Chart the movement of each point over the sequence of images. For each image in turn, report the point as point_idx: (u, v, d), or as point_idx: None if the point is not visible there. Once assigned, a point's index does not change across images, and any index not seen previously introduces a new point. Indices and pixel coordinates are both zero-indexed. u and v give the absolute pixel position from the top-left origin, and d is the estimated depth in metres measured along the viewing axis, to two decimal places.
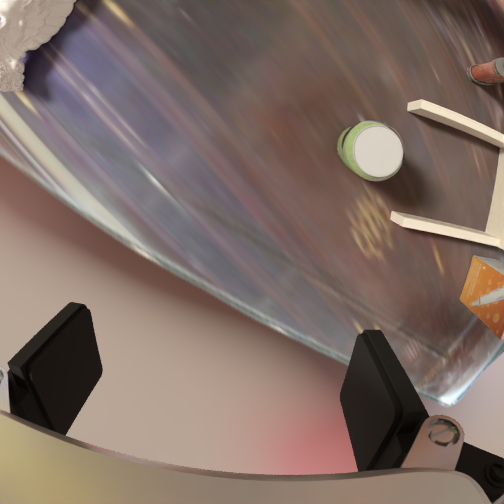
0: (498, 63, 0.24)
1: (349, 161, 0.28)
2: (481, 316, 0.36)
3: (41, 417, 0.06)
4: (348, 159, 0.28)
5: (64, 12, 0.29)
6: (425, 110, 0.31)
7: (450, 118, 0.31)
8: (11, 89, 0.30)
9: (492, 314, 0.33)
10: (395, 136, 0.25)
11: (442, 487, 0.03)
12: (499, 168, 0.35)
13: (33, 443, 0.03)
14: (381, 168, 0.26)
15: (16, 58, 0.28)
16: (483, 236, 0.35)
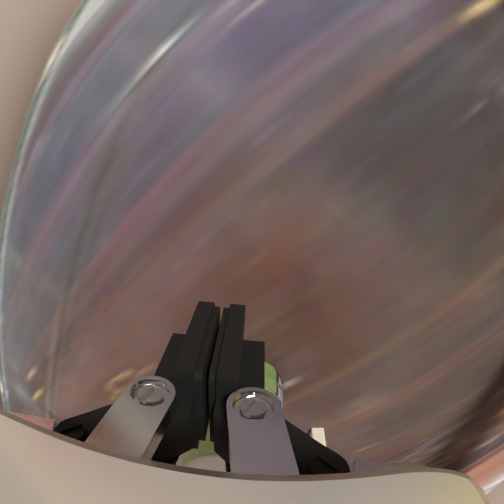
0: None
1: None
2: None
3: (195, 422, 0.07)
4: None
5: None
6: None
7: None
8: None
9: None
10: None
11: (442, 487, 0.03)
12: None
13: (33, 443, 0.03)
14: None
15: None
16: None
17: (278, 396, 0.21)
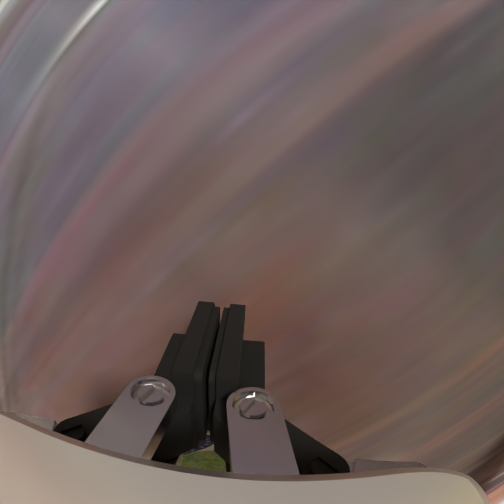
0: None
1: None
2: None
3: (195, 422, 0.07)
4: None
5: None
6: None
7: None
8: None
9: None
10: None
11: (442, 487, 0.03)
12: None
13: (33, 443, 0.03)
14: None
15: None
16: None
17: None
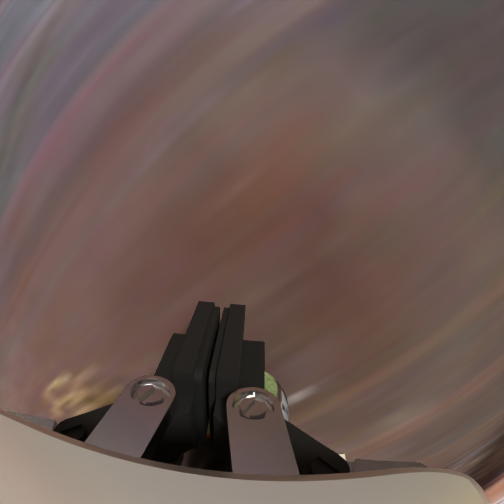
0: None
1: None
2: None
3: (195, 422, 0.07)
4: None
5: None
6: None
7: None
8: None
9: None
10: None
11: (442, 487, 0.03)
12: None
13: (33, 443, 0.03)
14: None
15: None
16: None
17: None
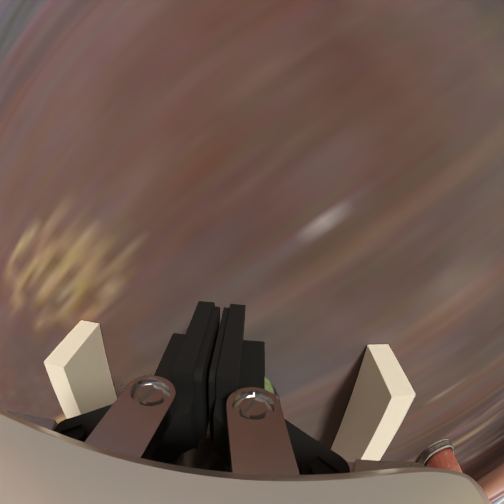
0: None
1: None
2: None
3: (195, 422, 0.07)
4: None
5: None
6: (383, 405, 0.12)
7: (362, 458, 0.12)
8: None
9: None
10: None
11: (442, 487, 0.03)
12: None
13: (33, 443, 0.03)
14: None
15: None
16: None
17: None
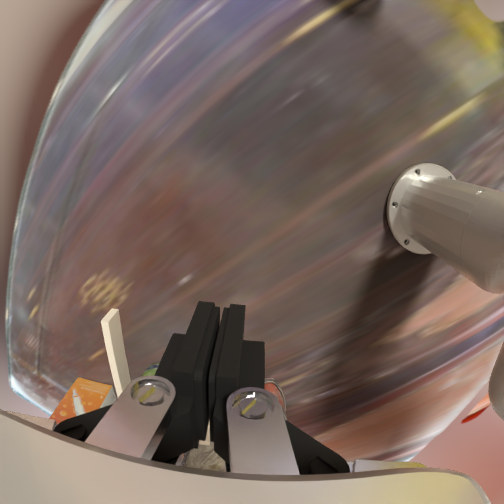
0: None
1: None
2: (64, 399, 0.43)
3: (195, 422, 0.07)
4: None
5: None
6: None
7: None
8: None
9: (65, 410, 0.41)
10: None
11: (442, 487, 0.03)
12: None
13: (33, 443, 0.03)
14: None
15: None
16: None
17: None
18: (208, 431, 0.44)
